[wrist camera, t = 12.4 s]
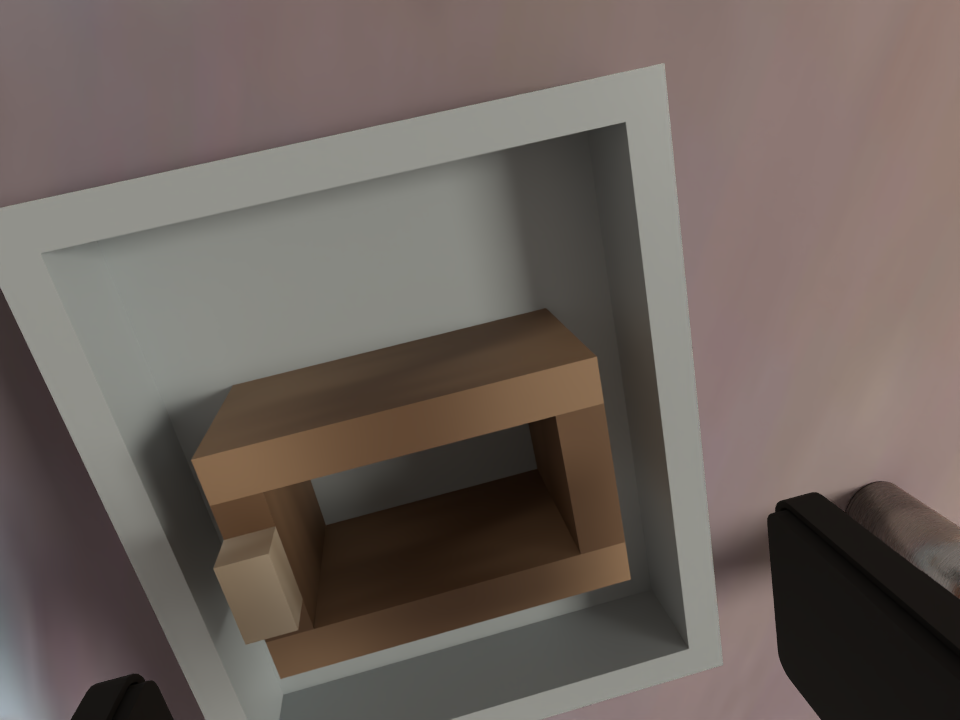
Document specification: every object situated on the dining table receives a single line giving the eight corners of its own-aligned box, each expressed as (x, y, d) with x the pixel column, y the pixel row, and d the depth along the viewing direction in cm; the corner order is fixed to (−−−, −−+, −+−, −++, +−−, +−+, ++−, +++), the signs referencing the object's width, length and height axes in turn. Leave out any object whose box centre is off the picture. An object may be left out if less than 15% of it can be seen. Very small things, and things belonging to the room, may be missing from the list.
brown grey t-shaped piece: (940, 516, 19) (1144, 651, 14) (807, 554, 19) (967, 706, 14) (942, 463, 19) (1156, 585, 13) (805, 502, 18) (973, 641, 13)
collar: (545, 308, 15) (613, 371, 11) (578, 490, 16) (646, 605, 12) (232, 385, 14) (177, 483, 10) (299, 566, 16) (274, 714, 12)
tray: (673, 590, 18) (722, 664, 16) (265, 707, 18) (247, 807, 15) (608, 77, 14) (664, 63, 11) (48, 200, 13) (-34, 215, 10)
